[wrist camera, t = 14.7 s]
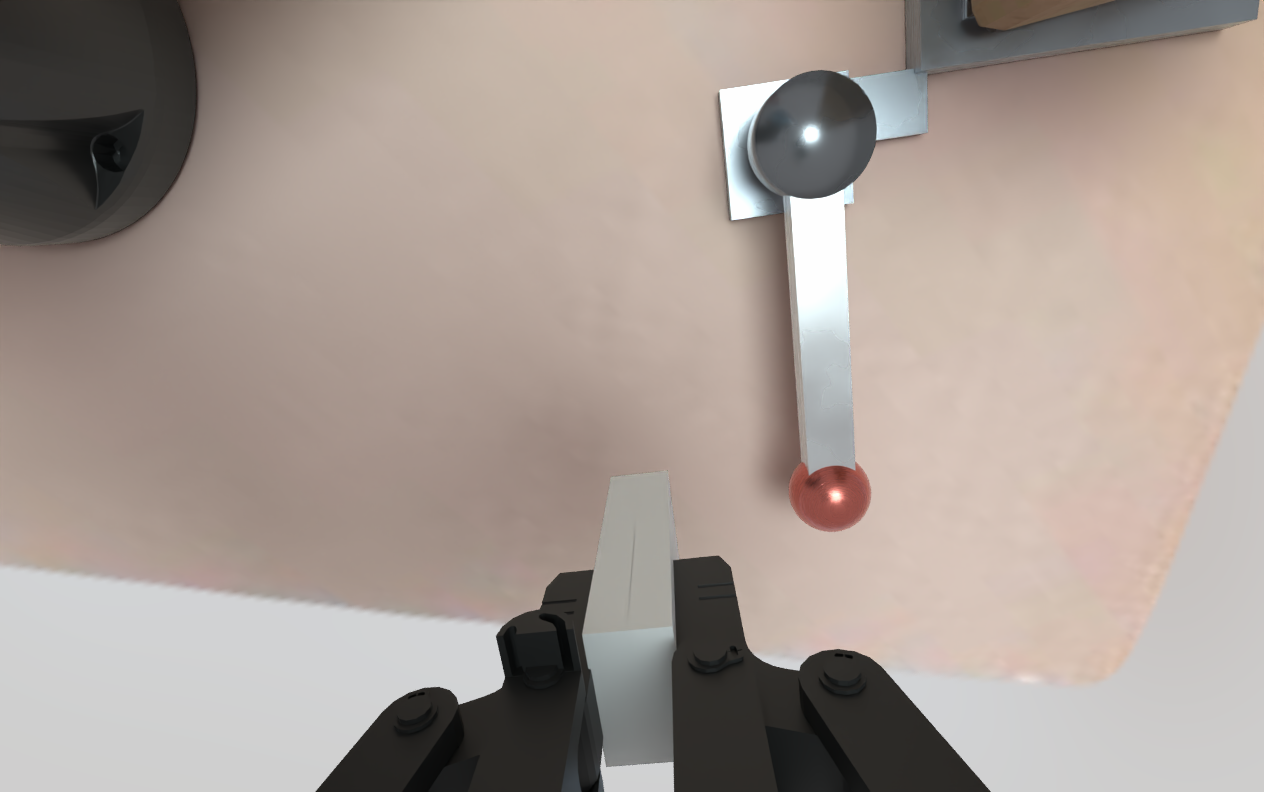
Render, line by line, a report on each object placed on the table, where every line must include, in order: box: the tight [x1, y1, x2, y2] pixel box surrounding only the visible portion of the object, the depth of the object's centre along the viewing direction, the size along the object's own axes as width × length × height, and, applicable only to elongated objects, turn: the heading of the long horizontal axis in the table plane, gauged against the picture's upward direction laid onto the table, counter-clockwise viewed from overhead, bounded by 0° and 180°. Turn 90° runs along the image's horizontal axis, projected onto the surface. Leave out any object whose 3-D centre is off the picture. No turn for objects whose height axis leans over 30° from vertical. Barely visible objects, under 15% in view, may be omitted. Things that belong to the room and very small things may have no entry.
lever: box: [747, 70, 877, 532], centre depth 24 cm, size 4×17×3 cm, turn 8°
